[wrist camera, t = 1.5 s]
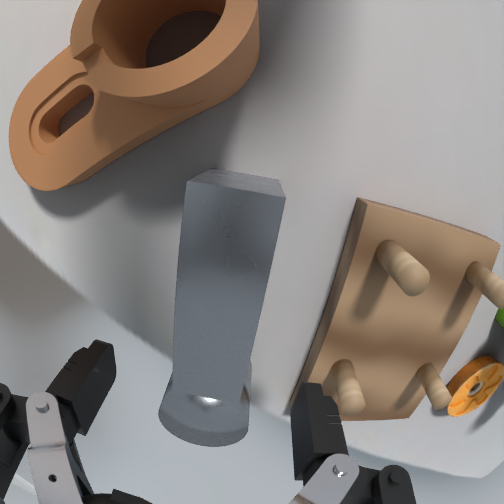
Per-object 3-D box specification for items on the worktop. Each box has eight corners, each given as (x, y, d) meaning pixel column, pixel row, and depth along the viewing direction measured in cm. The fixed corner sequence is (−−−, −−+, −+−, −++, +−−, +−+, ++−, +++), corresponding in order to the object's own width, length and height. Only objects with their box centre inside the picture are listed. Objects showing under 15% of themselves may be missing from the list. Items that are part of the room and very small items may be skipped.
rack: (357, 197, 17) (397, 223, 12) (485, 236, 18) (534, 265, 12) (289, 401, 24) (293, 456, 18) (402, 404, 24) (420, 448, 18)
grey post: (195, 166, 17) (163, 177, 11) (294, 183, 17) (310, 202, 12) (177, 383, 23) (160, 436, 18) (245, 395, 24) (240, 451, 18)
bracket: (227, -19, 13) (212, -79, 6) (282, 79, 15) (293, 41, 9) (22, 114, 16) (-42, 117, 9) (55, 203, 18) (-9, 230, 12)
